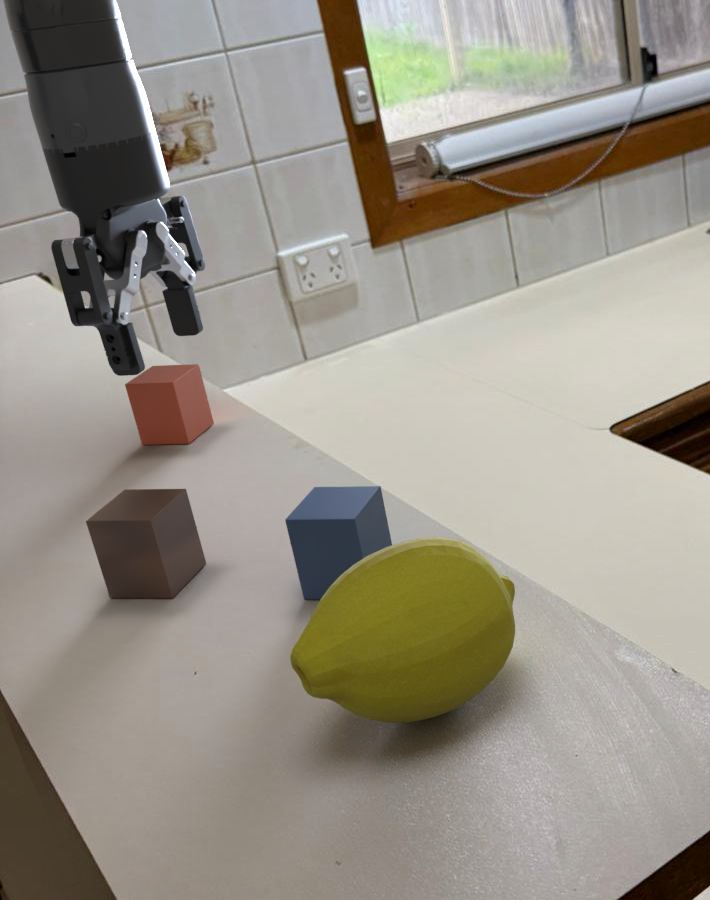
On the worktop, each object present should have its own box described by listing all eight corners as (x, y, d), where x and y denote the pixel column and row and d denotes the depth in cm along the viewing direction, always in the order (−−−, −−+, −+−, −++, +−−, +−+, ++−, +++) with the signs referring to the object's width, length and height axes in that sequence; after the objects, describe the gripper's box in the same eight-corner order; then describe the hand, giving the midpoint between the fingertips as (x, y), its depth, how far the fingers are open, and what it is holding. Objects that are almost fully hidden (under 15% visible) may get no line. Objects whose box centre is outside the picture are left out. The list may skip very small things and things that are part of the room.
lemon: (496, 627, 58) (474, 487, 55) (565, 702, 52) (545, 549, 49) (288, 704, 54) (251, 557, 51) (336, 797, 47) (296, 635, 44)
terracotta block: (141, 445, 87) (124, 384, 85) (168, 424, 91) (152, 365, 89) (189, 444, 86) (172, 382, 84) (214, 423, 90) (199, 363, 88)
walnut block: (109, 598, 65) (85, 521, 63) (146, 563, 69) (124, 489, 67) (172, 598, 65) (150, 520, 63) (206, 563, 68) (186, 488, 66)
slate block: (303, 599, 63) (284, 519, 61) (331, 563, 67) (314, 486, 65) (371, 600, 62) (354, 519, 60) (396, 563, 66) (380, 485, 64)
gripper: (108, 122, 86) (165, 325, 93) (-16, 158, 74) (60, 390, 80) (197, 113, 85) (249, 320, 91) (86, 148, 72) (155, 386, 79)
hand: (161, 353), depth 86 cm, fingers open, 8 cm apart
